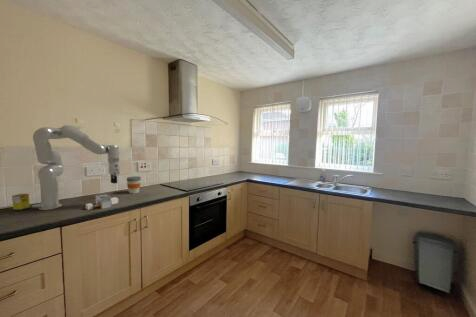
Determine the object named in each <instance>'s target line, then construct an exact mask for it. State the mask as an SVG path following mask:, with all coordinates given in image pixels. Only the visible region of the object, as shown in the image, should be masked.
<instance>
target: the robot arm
mask: <svg viewBox="0 0 476 317" xmlns="http://www.w3.org/2000/svg"><path fill="white" fill-rule="evenodd" d="M59 139H70V140H72V141H73V142H75V143H77V144H79V145H80V146H82V147H83V148H84V149H86V150H88V151H89V152H92V153H93V154H95V155H98V156H99V155H106V154H107V163H108V174H109V175H110V183H111V184H113V185H114V184H118V177H119V175H120V163H119V162H120V156H119V155H120V152H119V151H120V150H119V149H120V148H119V146H118V145H117V144H100V143H97V142H96V141H94V140H92V139H91V138H90V136H89V135H88V134H86V133H84V132H83V131H81V130H79V128H78V127H76V126H74V125H71V124H70V125H69V124H66V125H62V126H61V127H51V126H50V127H47V126H46V127H45V126H44V127H40V128H37V129H36V130H35V131H34V133H32V141H33V145H34V148H35V149H34V150H35V154H36V159H37V161H38V163H40V164H42V165H44V166H42V167H41V168H39V170H38V171H37V176H38V180H39V187H40V202H39V203H37V204H36V203H35V204H32V207H31V208H38V210H40V211H49V210H54V209H58V208H60V207H62V206H63V204H62V203H60V201H59V200H60V198H59V197H60V196H59V183H58V179H57V178H58V177H59V176H61V175H63V173H64V166H63V165H64V164H63V159H62V156H61V154H60V153H58V152H57V151H55V150H53V149H52V145H51V142H50V141H49V140H59Z"/></svg>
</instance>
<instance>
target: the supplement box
mask: <svg viewBox="0 0 476 317" xmlns="http://www.w3.org/2000/svg"><path fill="white" fill-rule="evenodd" d="M11 199H12V201H11V202H12V211H25V210H27V209H30V194H29V193H18V194H14V195H13V194H12V196H11Z"/></svg>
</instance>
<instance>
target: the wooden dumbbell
mask: <svg viewBox="0 0 476 317" xmlns="http://www.w3.org/2000/svg"><path fill="white" fill-rule="evenodd" d="M119 201H120V199H119V198H118V197H111V205H115V204H119ZM98 207H100V204H96V203H95V204H94V203H85V210H88V211H89V210H93V209H94V208H98Z"/></svg>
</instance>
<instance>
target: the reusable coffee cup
mask: <svg viewBox="0 0 476 317" xmlns="http://www.w3.org/2000/svg"><path fill="white" fill-rule="evenodd" d="M141 178H142V177H141V176H128V177H126V182H127V183H126V184H127V189H128V193H129V194H137V193H140V188H141Z"/></svg>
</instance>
